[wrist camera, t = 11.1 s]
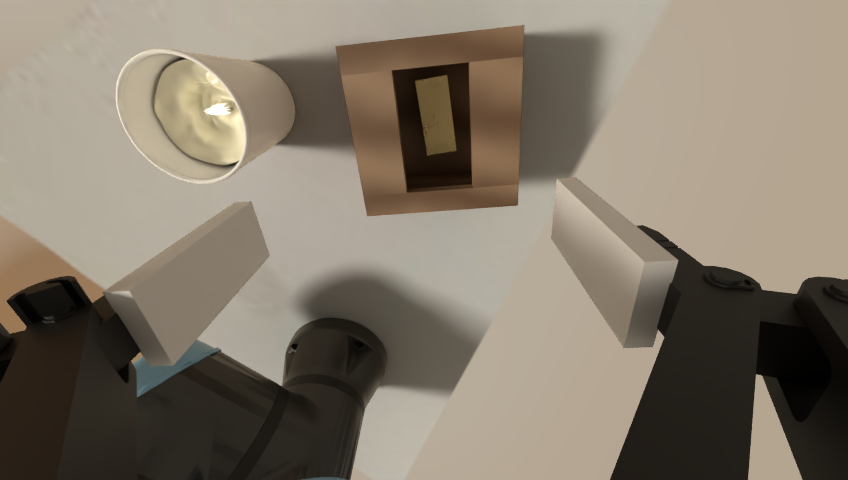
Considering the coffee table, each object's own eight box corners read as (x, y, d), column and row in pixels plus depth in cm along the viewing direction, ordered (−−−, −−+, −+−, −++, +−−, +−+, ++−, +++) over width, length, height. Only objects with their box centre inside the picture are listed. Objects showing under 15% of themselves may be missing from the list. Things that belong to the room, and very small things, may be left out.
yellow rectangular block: (446, 74, 34) (447, 75, 31) (455, 144, 37) (456, 150, 34) (416, 79, 34) (414, 80, 31) (428, 148, 37) (427, 155, 35)
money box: (501, 175, 39) (517, 205, 31) (381, 185, 40) (367, 216, 32) (503, 34, 32) (524, 25, 24) (360, 50, 33) (335, 46, 26)
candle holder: (310, 72, 35) (252, 77, 24) (296, 162, 39) (243, 199, 28) (212, 37, 34) (107, 26, 23) (209, 134, 38) (120, 162, 27)
